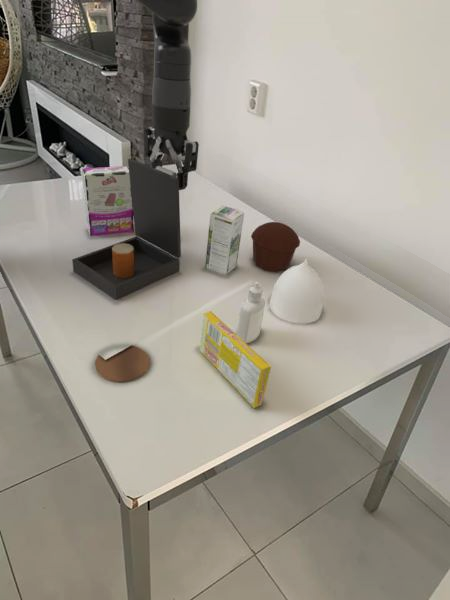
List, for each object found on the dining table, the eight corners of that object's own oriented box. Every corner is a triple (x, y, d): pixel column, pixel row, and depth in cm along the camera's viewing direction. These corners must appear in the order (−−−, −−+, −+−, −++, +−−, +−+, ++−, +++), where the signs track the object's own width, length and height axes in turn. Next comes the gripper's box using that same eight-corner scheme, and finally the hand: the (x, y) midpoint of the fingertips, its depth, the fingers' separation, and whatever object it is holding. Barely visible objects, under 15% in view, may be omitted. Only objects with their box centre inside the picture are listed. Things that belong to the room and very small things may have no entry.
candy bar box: (129, 226, 120) (128, 165, 111) (134, 234, 116) (133, 172, 107) (86, 230, 116) (81, 167, 107) (90, 238, 112) (85, 174, 103)
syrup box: (215, 260, 109) (220, 204, 101) (237, 267, 107) (244, 210, 99) (204, 270, 105) (209, 212, 97) (227, 278, 103) (233, 219, 95)
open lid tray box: (116, 303, 91) (115, 287, 89) (73, 274, 98) (72, 259, 96) (179, 274, 102) (179, 259, 100) (136, 250, 110) (136, 236, 107)
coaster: (118, 390, 71) (118, 389, 71) (84, 362, 76) (83, 360, 76) (160, 364, 77) (160, 362, 77) (126, 339, 82) (126, 337, 82)
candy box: (264, 404, 72) (272, 365, 67) (253, 409, 71) (261, 370, 66) (208, 346, 82) (211, 309, 78) (198, 350, 81) (201, 313, 77)
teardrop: (321, 328, 91) (335, 277, 84) (266, 318, 92) (276, 266, 85) (321, 298, 100) (334, 250, 93) (272, 289, 101) (281, 241, 94)
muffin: (240, 265, 108) (245, 227, 103) (257, 247, 117) (263, 211, 111) (286, 280, 105) (294, 241, 99) (301, 260, 113) (309, 224, 108)
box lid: (175, 179, 88) (193, 172, 91) (127, 159, 96) (145, 153, 99) (178, 258, 100) (193, 250, 103) (135, 235, 107) (150, 227, 110)
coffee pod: (122, 280, 96) (121, 255, 93) (108, 272, 99) (107, 247, 95) (138, 273, 99) (138, 248, 96) (125, 265, 102) (124, 241, 98)
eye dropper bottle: (266, 339, 86) (276, 286, 79) (240, 345, 83) (248, 291, 77) (255, 326, 89) (264, 274, 82) (230, 331, 87) (237, 278, 80)
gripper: (132, 96, 90) (133, 177, 99) (183, 112, 82) (180, 198, 92) (160, 93, 95) (159, 171, 104) (211, 108, 87) (205, 190, 97)
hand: (169, 183), depth 98 cm, fingers open, 7 cm apart
